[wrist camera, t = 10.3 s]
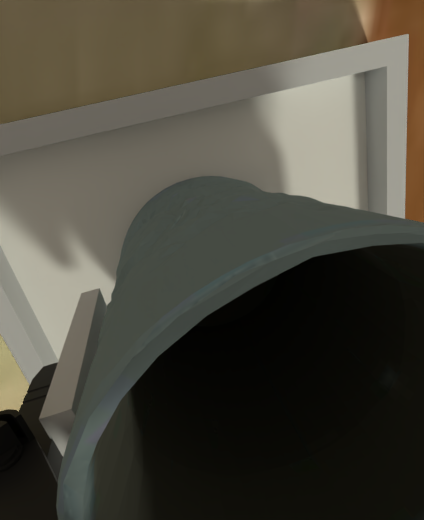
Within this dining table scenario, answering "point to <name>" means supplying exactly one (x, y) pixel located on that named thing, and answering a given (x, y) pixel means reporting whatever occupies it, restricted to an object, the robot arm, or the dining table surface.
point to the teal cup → (255, 365)
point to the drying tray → (186, 169)
